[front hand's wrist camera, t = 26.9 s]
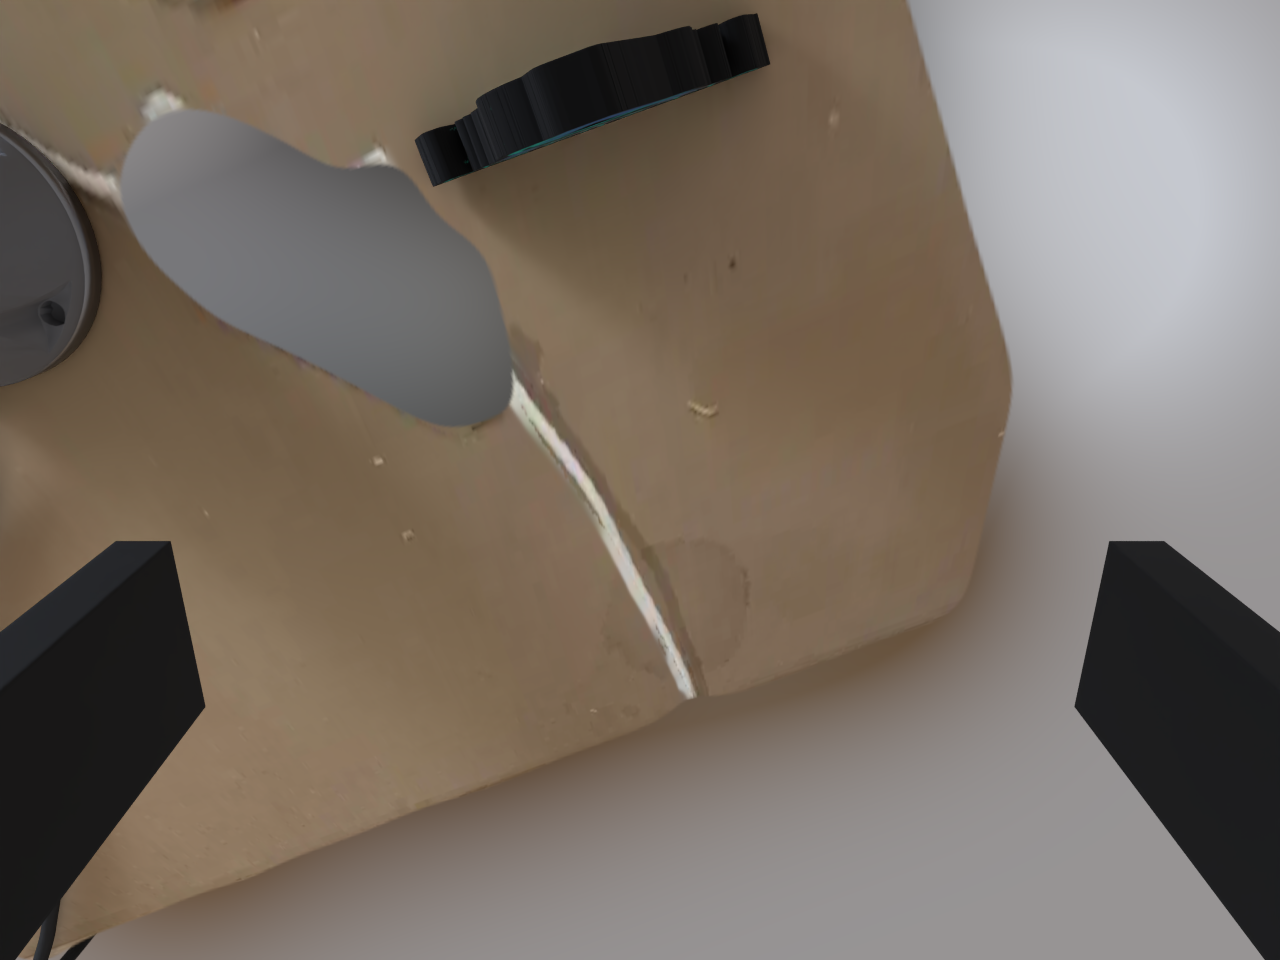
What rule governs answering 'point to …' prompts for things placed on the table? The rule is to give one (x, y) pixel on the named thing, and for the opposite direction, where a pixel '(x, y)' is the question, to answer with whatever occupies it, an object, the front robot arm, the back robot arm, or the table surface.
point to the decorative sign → (591, 93)
